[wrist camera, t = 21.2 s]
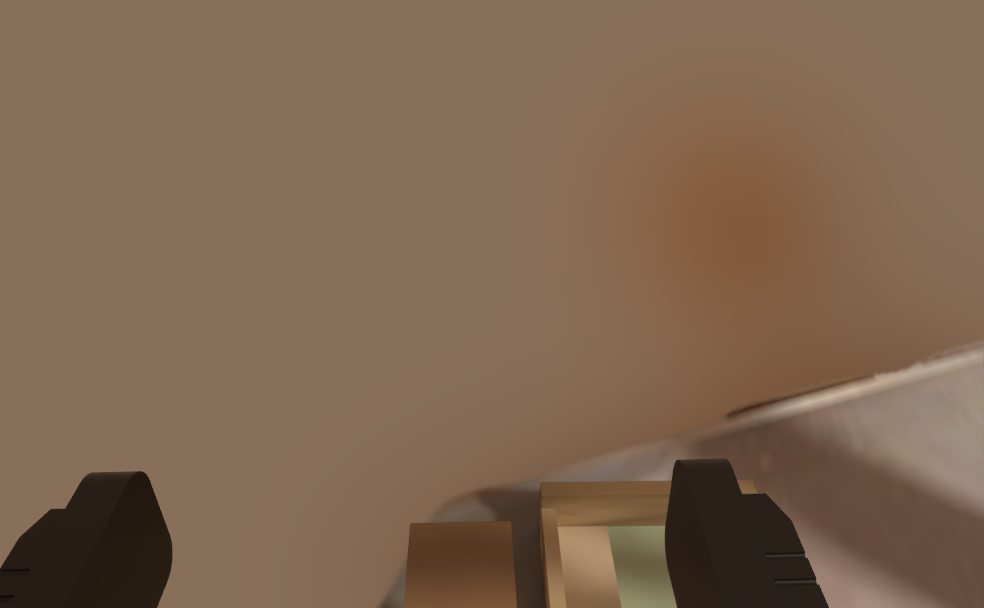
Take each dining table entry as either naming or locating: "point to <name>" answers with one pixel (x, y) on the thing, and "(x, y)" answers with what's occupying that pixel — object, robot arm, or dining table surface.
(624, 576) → the tray
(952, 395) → the dining table surface
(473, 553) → the walnut block
